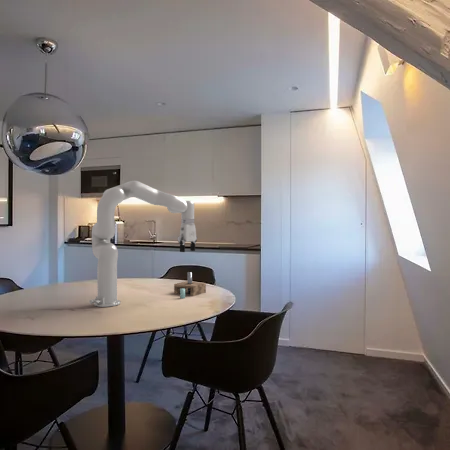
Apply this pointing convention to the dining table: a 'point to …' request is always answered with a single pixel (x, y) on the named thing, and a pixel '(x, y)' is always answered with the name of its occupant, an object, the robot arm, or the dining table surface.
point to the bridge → (195, 287)
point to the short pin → (182, 293)
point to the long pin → (189, 281)
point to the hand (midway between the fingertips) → (187, 251)
